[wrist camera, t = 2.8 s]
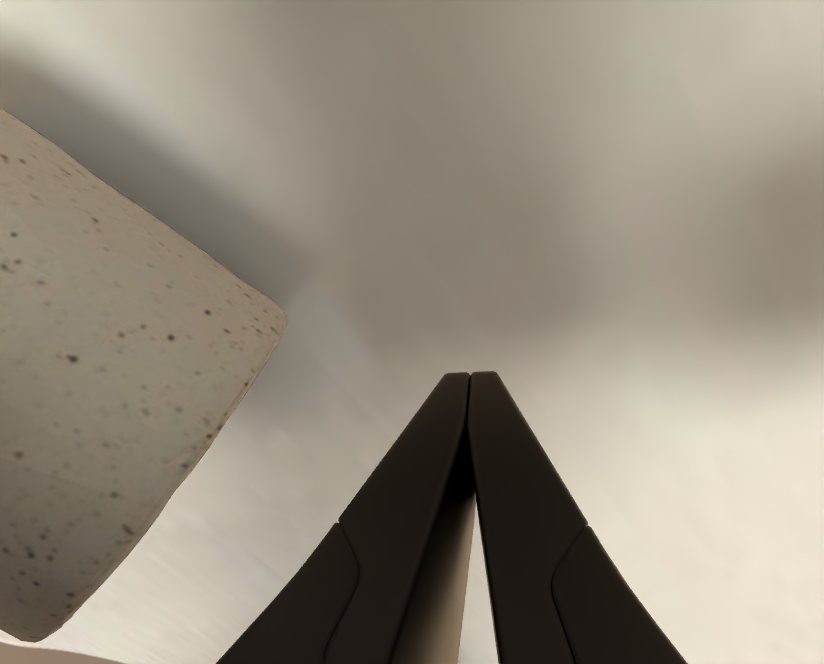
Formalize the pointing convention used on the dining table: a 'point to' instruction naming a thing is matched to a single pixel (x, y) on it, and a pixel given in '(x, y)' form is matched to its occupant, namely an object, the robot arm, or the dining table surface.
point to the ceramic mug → (102, 374)
